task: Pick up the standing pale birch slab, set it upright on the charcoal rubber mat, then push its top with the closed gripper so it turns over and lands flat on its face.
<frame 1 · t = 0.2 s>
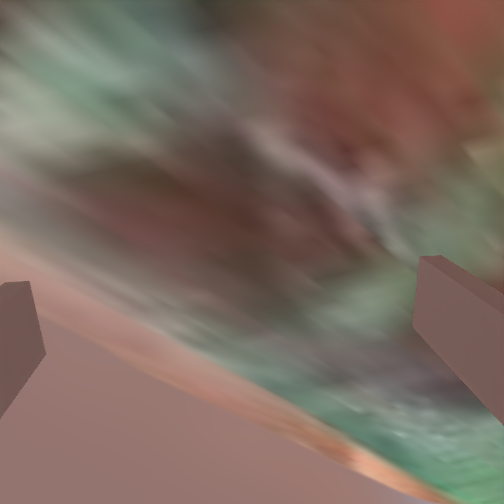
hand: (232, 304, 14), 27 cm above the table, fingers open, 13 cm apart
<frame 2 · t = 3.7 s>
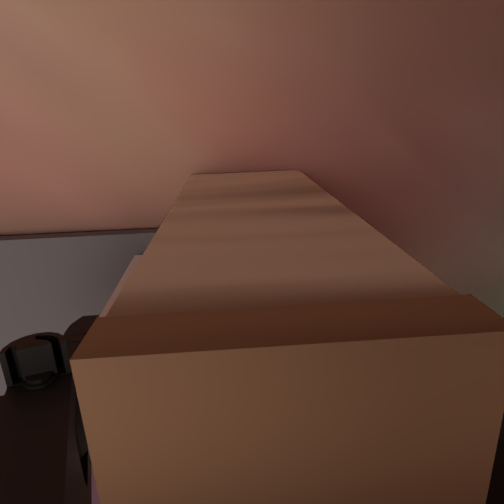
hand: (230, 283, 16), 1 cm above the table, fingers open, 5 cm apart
slab: (249, 272, 16), on the table, touching gripper
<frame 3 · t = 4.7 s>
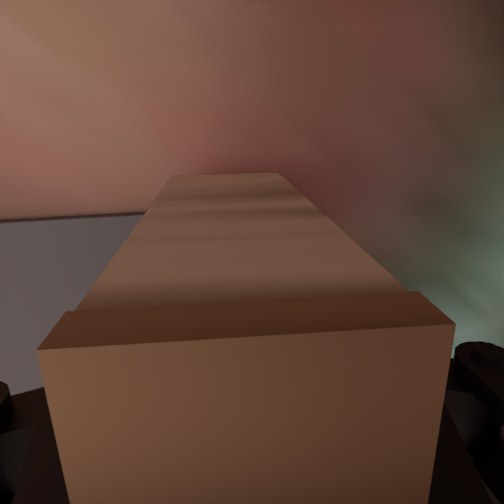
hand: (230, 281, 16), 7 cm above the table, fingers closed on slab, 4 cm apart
slab: (229, 272, 17), point 6 cm above the table, touching gripper
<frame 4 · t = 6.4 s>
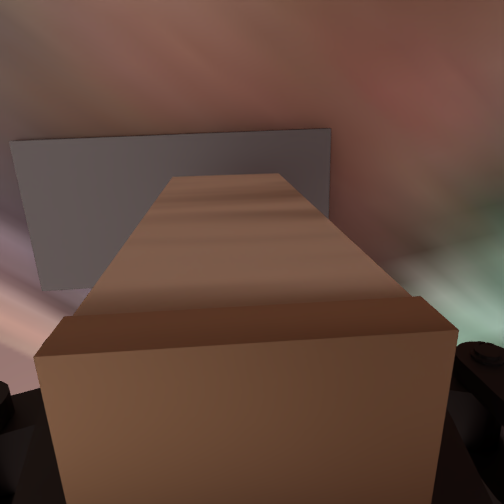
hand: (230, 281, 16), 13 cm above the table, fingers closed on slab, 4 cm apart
slab: (230, 273, 17), point 12 cm above the table, touching gripper
mat: (182, 210, 28), on the table
when the fingers open (2 cm above the table, at t = 8.4 s): slab stays where it is, resting on mat.
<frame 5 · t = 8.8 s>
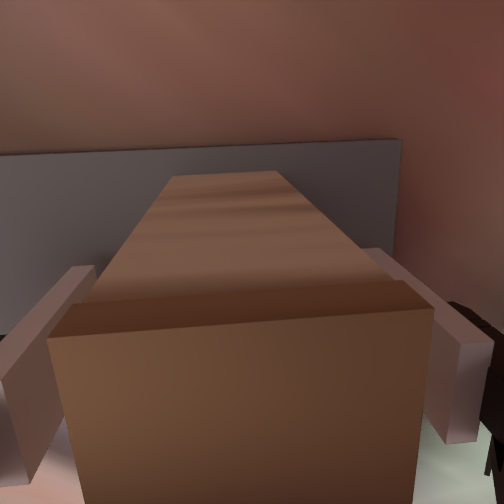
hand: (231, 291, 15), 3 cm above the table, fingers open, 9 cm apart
slab: (230, 269, 17), point 1 cm above the table, touching mat
mat: (159, 269, 17), on the table
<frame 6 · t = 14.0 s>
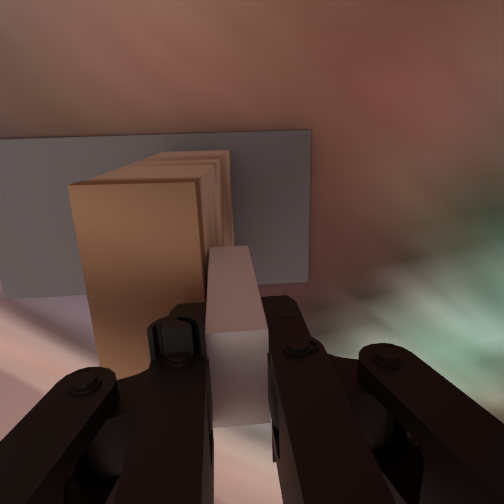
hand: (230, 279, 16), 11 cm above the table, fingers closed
slab: (201, 216, 25), point 1 cm above the table, tilted 7°, touching mat
mat: (154, 215, 26), on the table
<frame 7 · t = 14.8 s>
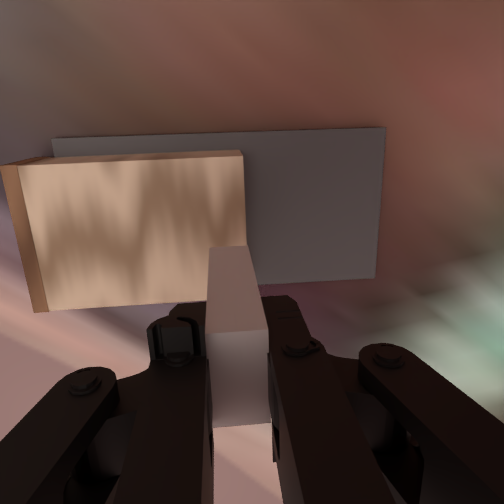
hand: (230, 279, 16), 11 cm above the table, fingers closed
slab: (243, 221, 24), point 3 cm above the table, tilted 90°, touching mat
mat: (227, 212, 26), on the table
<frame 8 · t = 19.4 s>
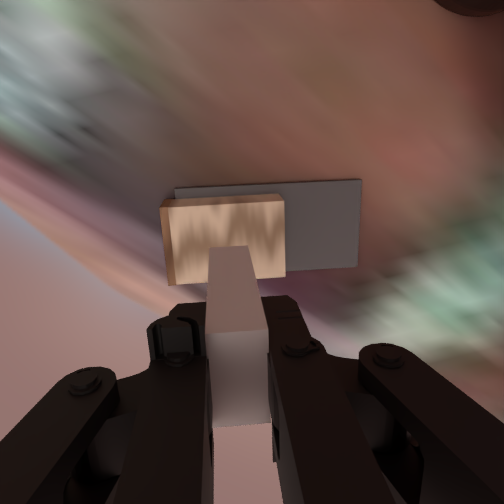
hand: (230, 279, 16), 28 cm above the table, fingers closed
slab: (281, 234, 43), point 3 cm above the table, tilted 90°, touching mat
mat: (269, 228, 45), on the table
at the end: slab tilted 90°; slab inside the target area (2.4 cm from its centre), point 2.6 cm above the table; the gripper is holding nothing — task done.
